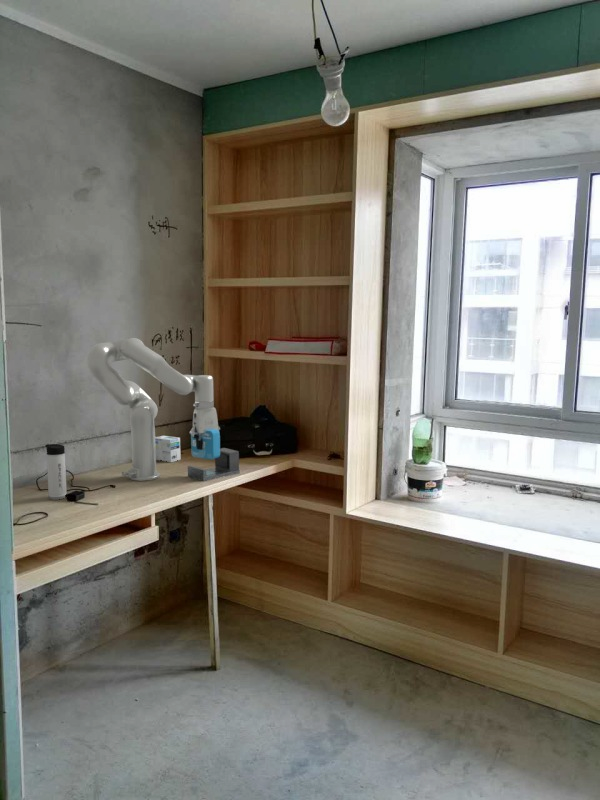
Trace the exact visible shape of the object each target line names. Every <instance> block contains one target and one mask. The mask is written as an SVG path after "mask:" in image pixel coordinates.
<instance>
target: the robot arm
mask: <svg viewBox="0 0 600 800" xmlns="http://www.w3.org/2000/svg"><path fill="white" fill-rule="evenodd" d="M121 361H130V362H131V363H132V364H133V365H136V366H137V367H139V368H140V369H141V370H144V371H145V372H147V373H149V375H151V376H152V377H153V378H155V379H156V380H157V381H158V382H160V383H161V384H162V385H164V386H165V387H166V388H168V389H170V390H172V391H173V392H175V393H176V394H178V395H181V396H182V395H183V396H186V395H188V394H189V395H190V393H192V392H194V403H193V404H192V405H193V407H194V409H193V415H192V428H191V429H190V431H189V434H190V436H191V435H192V436H193V437H194V438H195V440H196V447H197V449H199V450H202V440H201V437H202V434H203V433H206V430H212V429H217V430H218V431H219V432H220V430H221V427H220V426H219V422H218V421H219V420H218V413H217V409H216V407H214V406H215V405H214V404H215V403H214V401H215V400H214V399H215V398H214V378H213V376H212V375H209V374H199V375H194V374H182V373H181V372H179V371H178V370H176V369H175V368H174V367H172V366H170V365H169V363H168V362H167V361H166V360H165V358H164V357H163V356H162V355H160V354H159V353H157V352H155V351H154V350H152V349H151V348H149V347H148V346H146V345H145V344H144V342H143V341H142V340H141V339H139V338H137V337H131V338H127V339H122V340H114V341H107V342H99V343H97V344H95V345H93V346H92V347H91V348H90V350H89V352H88V354H87V358H86V366H87V368H88V371H89V374H90V375H91V376H92V377H93V378H94V380H95V381H96V382H97V383H98V384H99V385H100V386H101V388H102V389H104V390H105V391H106V393H108V395H109V396H111V399H113V400H114V402H116V403H117V404H118V405H120V406H124V407H126V406H127V408H129V409H130V412H129V423H130V432H131V433H130V434H131V458H132V460H131V462H132V463H131V464H132V465H131V466H130V468H129V469H128V470H124V471H123V470H122V471H121V476H122V477H125V476H128V479H129V480H132V481H138V482H140V481H141V482H142V481H153V480H156V479H158V478H161V473H160V472H159V471H157V460H156V447H155V437H156V428H155V419H156V417H157V415H158V411H159V409H158V406H157V404H156V403H155V401H154V400H153V399H152V398H151V397H150V395H148V393H146V391H144V390H143V388H141V386H139V384H137V383H136V382H134V381H132V380H126V379H125V378H123V376H122V375H121V374H120V373H119V372H118V371H117V370H116V369H115V368H114V367H113V366H112V365H111V364H110V363H114V362H121ZM195 432H196V434H195Z"/></svg>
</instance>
